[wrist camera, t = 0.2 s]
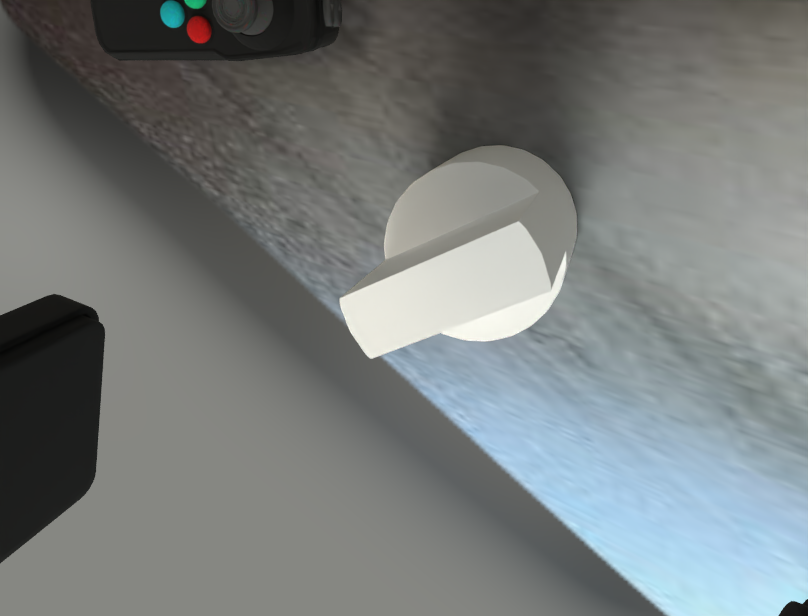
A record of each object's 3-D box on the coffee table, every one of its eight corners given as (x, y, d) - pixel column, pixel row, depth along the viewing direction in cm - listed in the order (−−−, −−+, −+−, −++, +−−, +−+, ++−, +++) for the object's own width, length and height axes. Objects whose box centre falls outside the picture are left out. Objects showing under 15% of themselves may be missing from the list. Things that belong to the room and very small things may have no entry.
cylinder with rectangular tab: (459, 323, 42) (396, 419, 31) (392, 186, 40) (301, 238, 30) (604, 268, 38) (588, 356, 27) (536, 115, 36) (492, 144, 26)
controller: (378, 55, 38) (296, 58, 29) (183, 63, 42) (58, 67, 33) (374, -33, 36) (287, -58, 28) (172, -17, 40) (38, -34, 31)
